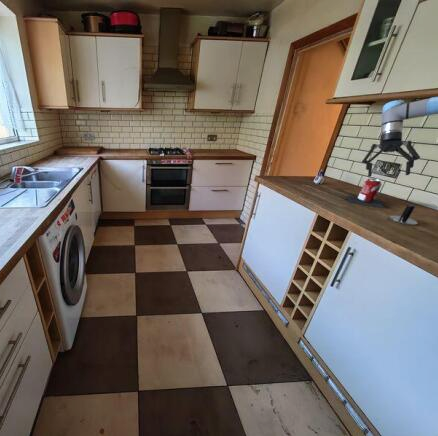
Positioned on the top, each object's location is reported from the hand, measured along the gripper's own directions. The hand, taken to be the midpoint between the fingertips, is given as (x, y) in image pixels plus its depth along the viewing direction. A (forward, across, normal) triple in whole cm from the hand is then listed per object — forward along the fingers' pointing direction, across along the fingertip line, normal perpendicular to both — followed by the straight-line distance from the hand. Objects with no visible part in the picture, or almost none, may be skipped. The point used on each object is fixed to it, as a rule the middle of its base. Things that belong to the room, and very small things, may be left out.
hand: (388, 175), depth 115 cm
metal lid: (+23, -3, +11) cm, 26 cm away
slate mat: (+13, +6, -9) cm, 17 cm away
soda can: (+12, +6, -9) cm, 17 cm away
